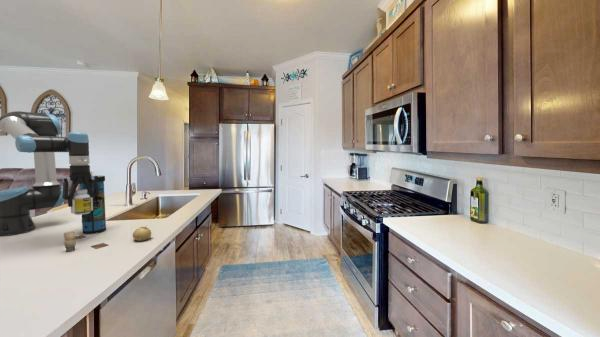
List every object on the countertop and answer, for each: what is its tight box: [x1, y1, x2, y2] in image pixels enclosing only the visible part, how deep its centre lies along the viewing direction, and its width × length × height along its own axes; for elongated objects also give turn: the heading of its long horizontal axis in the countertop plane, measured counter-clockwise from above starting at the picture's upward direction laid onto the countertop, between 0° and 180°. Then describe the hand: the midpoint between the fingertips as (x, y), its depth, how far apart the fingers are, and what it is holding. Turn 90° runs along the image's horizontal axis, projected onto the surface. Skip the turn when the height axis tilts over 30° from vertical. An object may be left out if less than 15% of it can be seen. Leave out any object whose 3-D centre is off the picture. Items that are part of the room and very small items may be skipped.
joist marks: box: [75, 234, 109, 250], centre depth 127 cm, size 28×5×1 cm, turn 60°
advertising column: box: [79, 175, 107, 235], centre depth 141 cm, size 11×11×30 cm
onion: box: [132, 226, 152, 242], centre depth 130 cm, size 8×8×7 cm
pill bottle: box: [73, 189, 91, 216], centre depth 128 cm, size 6×6×12 cm
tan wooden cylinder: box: [63, 230, 77, 253], centre depth 116 cm, size 4×4×8 cm
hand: (82, 211), depth 128 cm, fingers closed on pill bottle, 6 cm apart
